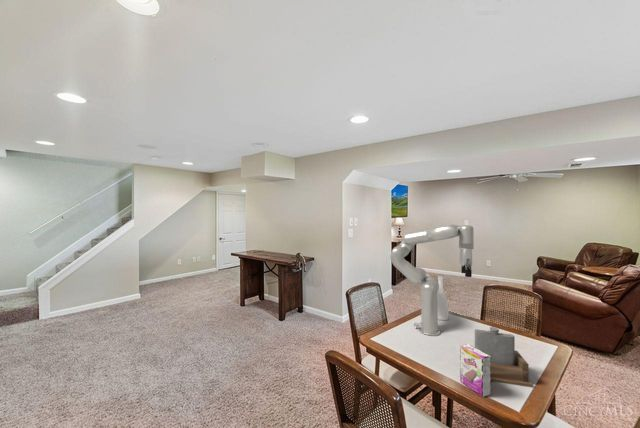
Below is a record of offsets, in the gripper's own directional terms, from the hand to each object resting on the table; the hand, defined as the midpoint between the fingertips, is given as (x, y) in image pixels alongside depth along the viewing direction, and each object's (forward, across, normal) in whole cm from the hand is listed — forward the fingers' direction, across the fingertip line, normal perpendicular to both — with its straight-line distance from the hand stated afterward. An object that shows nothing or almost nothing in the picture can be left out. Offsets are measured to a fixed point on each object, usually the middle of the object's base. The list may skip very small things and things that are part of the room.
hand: (466, 275), depth 158 cm
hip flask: (+38, +33, +5) cm, 50 cm away
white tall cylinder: (+38, -30, -10) cm, 50 cm away
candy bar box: (+38, +48, -7) cm, 62 cm away
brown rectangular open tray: (+38, +33, +5) cm, 51 cm away
